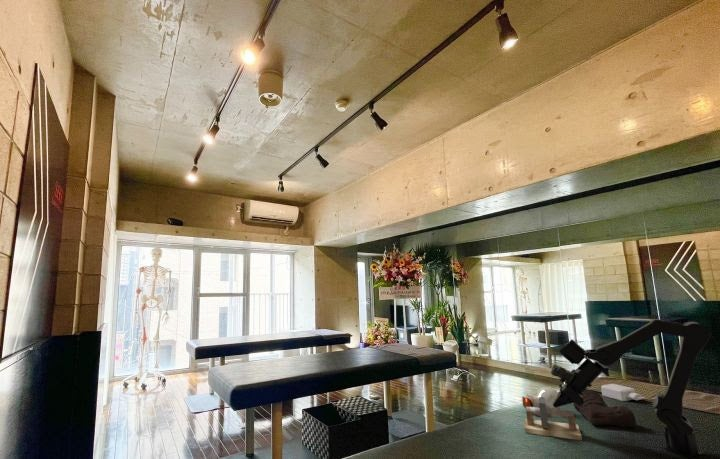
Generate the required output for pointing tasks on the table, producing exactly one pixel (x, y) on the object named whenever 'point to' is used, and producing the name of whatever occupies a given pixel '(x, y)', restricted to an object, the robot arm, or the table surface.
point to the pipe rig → (552, 424)
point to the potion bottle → (542, 392)
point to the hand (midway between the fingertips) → (553, 406)
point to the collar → (543, 412)
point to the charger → (620, 392)
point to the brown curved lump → (604, 411)
